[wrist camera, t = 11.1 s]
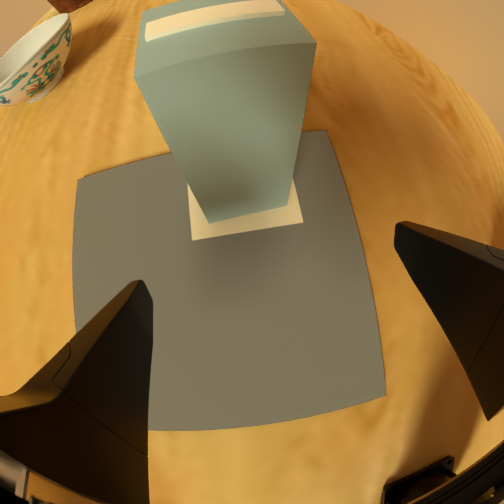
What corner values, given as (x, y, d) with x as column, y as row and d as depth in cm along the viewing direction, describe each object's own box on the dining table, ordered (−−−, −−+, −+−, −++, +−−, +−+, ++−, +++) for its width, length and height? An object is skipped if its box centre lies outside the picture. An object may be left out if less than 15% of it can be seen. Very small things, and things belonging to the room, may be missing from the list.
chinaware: (88, 37, 26) (70, 3, 19) (93, 78, 23) (66, 33, 15) (13, 91, 25) (-10, 64, 18) (2, 149, 22) (-33, 119, 14)
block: (266, 143, 19) (267, -17, 7) (286, 206, 17) (317, 37, 6) (197, 159, 19) (141, 8, 7) (209, 223, 17) (131, 72, 6)
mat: (325, 134, 19) (326, 129, 19) (383, 393, 15) (386, 395, 14) (81, 182, 19) (77, 179, 19) (97, 423, 15) (93, 425, 14)
